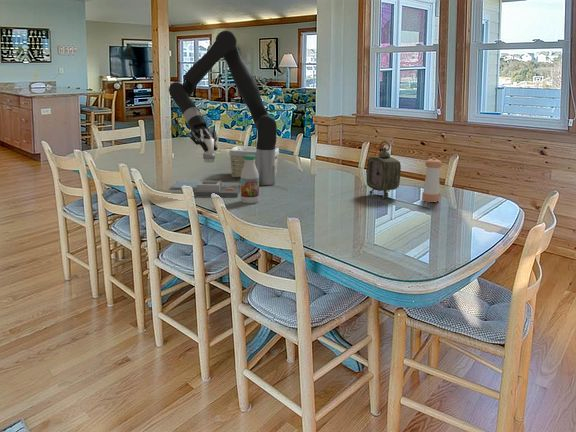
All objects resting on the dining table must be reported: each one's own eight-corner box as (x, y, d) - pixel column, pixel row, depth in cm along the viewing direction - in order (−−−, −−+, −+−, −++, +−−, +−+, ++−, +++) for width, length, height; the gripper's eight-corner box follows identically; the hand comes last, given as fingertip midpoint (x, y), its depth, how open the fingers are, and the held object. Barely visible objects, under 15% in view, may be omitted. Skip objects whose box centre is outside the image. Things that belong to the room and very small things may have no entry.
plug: (215, 160, 245) (215, 134, 242) (214, 162, 240) (213, 136, 237) (204, 160, 245) (203, 134, 242) (202, 162, 240) (201, 136, 237)
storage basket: (279, 174, 294) (280, 147, 290) (274, 180, 278) (274, 151, 275) (236, 172, 297) (236, 145, 293) (228, 178, 282) (228, 149, 278)
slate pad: (205, 183, 267) (205, 181, 267) (201, 190, 254) (201, 187, 253) (177, 183, 267) (177, 181, 267) (171, 189, 254) (171, 187, 253)
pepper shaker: (436, 199, 245) (440, 156, 240) (441, 202, 238) (445, 159, 233) (420, 198, 244) (423, 156, 239) (424, 202, 237) (428, 158, 232)
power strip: (239, 191, 253) (239, 180, 251) (237, 197, 241) (237, 186, 240) (196, 190, 253) (196, 179, 251) (192, 196, 241) (191, 185, 240)
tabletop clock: (365, 193, 252) (368, 139, 246) (382, 192, 256) (385, 138, 249) (382, 200, 240) (386, 143, 233) (400, 199, 243) (404, 142, 237)
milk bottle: (237, 201, 234) (236, 154, 229) (252, 198, 238) (252, 153, 233) (247, 204, 228) (247, 157, 223) (262, 202, 233) (262, 155, 227)
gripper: (184, 115, 238) (201, 146, 233) (211, 113, 248) (228, 143, 243) (178, 126, 243) (194, 157, 238) (204, 124, 253) (220, 153, 248)
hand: (211, 150), depth 240 cm, fingers closed on plug, 4 cm apart
